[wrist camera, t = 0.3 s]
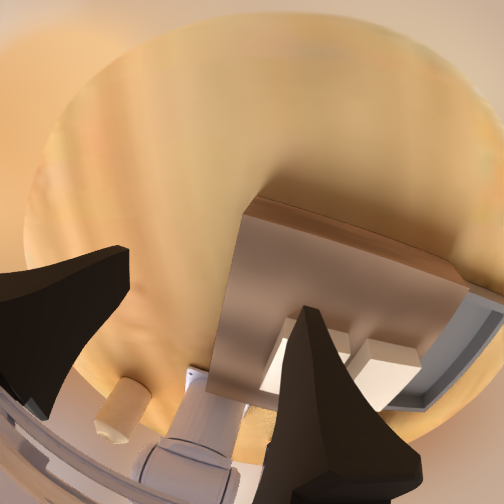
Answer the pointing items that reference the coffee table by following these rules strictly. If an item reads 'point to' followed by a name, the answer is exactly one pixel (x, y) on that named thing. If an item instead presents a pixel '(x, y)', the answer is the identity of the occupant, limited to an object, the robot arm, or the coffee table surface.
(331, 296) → the brown wooden block
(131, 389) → the candle
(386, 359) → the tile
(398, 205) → the coffee table surface
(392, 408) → the box
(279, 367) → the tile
